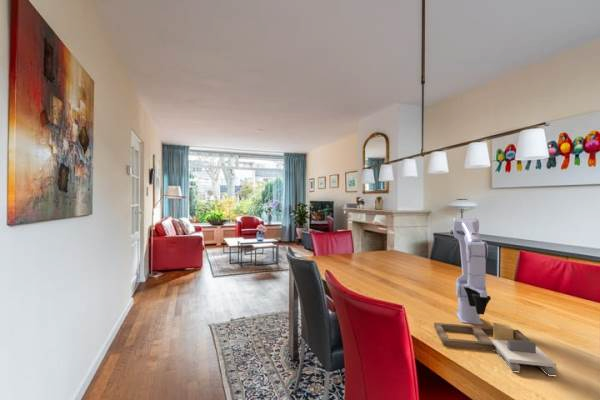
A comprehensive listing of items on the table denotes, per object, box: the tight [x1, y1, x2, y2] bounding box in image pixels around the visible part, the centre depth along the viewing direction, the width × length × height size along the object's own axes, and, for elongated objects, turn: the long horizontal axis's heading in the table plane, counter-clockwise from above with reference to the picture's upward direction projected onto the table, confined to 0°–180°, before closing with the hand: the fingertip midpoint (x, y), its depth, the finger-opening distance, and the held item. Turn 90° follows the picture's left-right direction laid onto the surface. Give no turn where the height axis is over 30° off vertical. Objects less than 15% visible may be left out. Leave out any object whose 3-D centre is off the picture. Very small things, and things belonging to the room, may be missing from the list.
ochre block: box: [492, 322, 514, 341], centre depth 102 cm, size 4×4×6 cm
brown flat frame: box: [433, 322, 557, 376], centre depth 98 cm, size 26×29×2 cm
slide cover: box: [491, 338, 557, 368], centre depth 91 cm, size 12×12×4 cm
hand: (476, 309), depth 108 cm, fingers open, 7 cm apart
